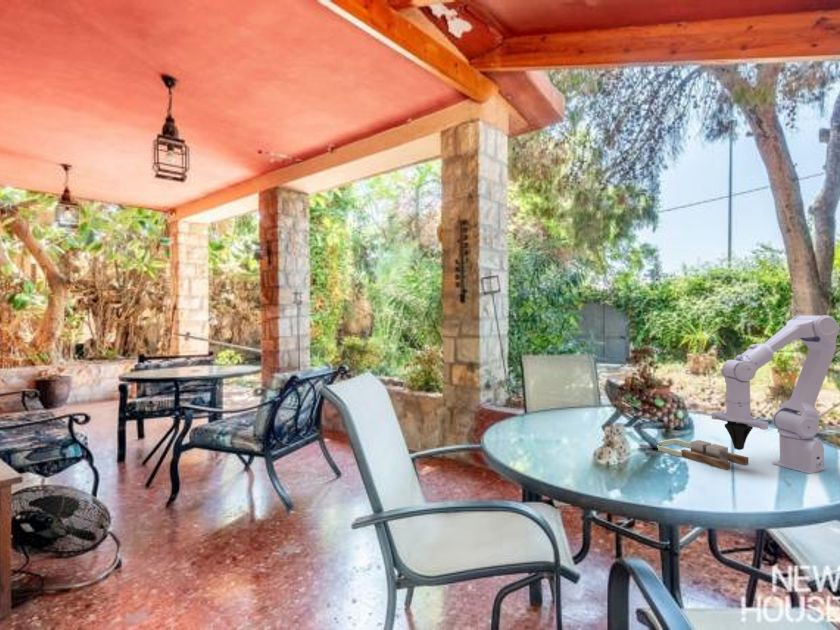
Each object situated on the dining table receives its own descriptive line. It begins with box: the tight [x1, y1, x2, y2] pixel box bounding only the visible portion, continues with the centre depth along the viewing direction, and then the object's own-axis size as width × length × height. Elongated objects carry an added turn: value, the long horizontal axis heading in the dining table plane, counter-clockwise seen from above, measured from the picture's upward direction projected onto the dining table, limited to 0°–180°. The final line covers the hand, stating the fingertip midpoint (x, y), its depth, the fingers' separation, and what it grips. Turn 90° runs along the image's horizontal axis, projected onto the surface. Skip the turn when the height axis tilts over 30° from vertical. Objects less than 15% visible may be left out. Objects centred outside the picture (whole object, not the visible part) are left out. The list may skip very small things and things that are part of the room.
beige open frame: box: [657, 438, 691, 458], centre depth 151 cm, size 11×12×2 cm
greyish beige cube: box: [690, 439, 712, 455], centre depth 144 cm, size 4×4×4 cm
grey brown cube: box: [706, 443, 729, 462], centre depth 140 cm, size 4×4×4 cm
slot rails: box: [680, 448, 750, 471], centre depth 140 cm, size 14×10×2 cm
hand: (738, 448), depth 134 cm, fingers closed
